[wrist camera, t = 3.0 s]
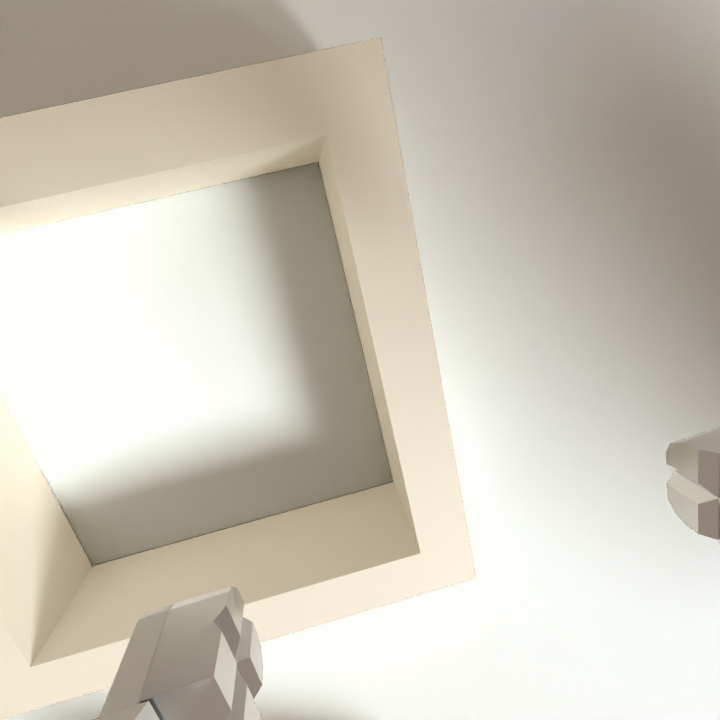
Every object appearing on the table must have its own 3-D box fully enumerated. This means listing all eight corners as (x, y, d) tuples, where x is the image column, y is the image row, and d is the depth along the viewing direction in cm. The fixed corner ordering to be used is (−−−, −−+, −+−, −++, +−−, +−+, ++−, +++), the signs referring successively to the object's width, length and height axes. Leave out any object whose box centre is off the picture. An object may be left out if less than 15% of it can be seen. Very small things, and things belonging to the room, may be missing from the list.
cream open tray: (356, 93, 16) (380, 37, 12) (438, 503, 22) (476, 577, 17) (-165, 208, 15) (-378, 197, 10) (68, 609, 21) (0, 719, 16)
